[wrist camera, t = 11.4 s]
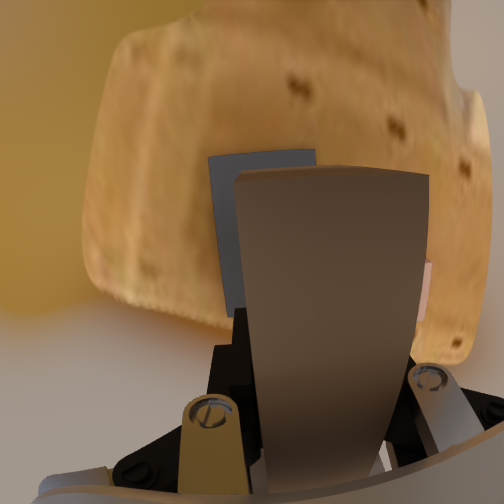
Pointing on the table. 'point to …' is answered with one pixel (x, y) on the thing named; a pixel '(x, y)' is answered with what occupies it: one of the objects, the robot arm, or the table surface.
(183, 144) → the table surface
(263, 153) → the mat
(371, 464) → the scraper
